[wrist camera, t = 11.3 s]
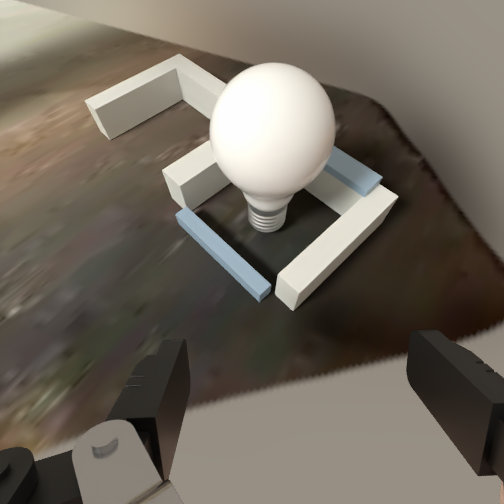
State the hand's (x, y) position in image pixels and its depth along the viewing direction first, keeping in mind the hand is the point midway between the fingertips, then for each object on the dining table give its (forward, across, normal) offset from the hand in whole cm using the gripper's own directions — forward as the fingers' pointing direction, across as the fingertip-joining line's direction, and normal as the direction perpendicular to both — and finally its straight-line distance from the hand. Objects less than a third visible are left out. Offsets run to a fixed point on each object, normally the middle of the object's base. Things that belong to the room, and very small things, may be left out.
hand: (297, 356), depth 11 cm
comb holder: (+16, +4, -6) cm, 17 cm away
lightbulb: (+13, 0, -2) cm, 13 cm away
